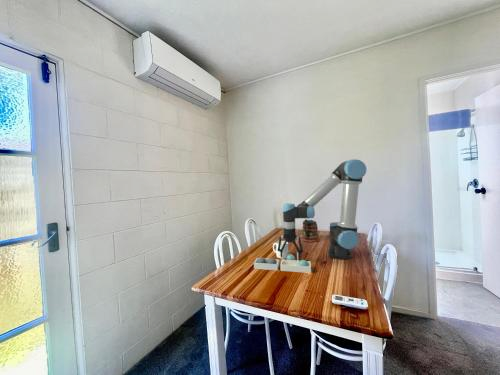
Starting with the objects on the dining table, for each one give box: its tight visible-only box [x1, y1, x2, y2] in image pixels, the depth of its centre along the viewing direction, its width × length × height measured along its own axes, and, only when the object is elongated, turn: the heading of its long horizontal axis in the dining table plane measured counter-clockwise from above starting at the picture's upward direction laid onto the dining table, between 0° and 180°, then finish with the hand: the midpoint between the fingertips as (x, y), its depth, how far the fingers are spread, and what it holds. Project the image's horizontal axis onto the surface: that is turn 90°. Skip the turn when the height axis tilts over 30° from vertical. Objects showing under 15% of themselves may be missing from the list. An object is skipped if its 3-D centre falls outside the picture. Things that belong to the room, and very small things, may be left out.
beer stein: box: [301, 218, 320, 243], centre depth 177 cm, size 19×15×20 cm
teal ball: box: [285, 253, 296, 260], centre depth 131 cm, size 6×6×6 cm
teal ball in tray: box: [299, 259, 308, 266], centre depth 120 cm, size 6×6×6 cm
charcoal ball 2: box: [267, 257, 276, 264], centre depth 125 cm, size 6×6×6 cm
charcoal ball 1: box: [257, 256, 266, 263], centre depth 126 cm, size 6×6×6 cm
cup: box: [272, 240, 289, 259], centre depth 143 cm, size 8×12×10 cm
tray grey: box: [253, 257, 280, 271], centre depth 125 cm, size 14×8×4 cm, turn 75°
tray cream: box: [279, 259, 312, 274], centre depth 121 cm, size 17×8×4 cm, turn 75°
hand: (290, 262), depth 132 cm, fingers open, 9 cm apart
